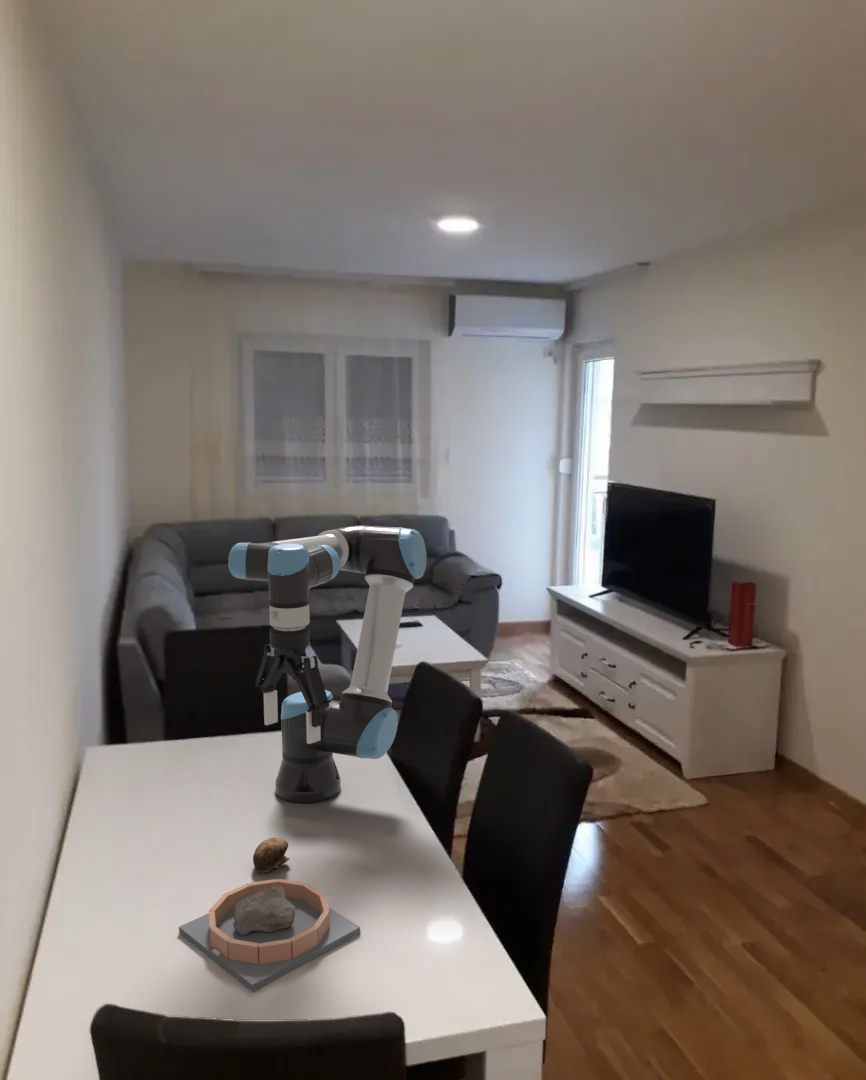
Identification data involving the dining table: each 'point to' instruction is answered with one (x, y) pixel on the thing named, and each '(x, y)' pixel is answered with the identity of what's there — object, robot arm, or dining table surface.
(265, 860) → the mushroom
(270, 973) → the socket
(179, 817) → the dining table surface
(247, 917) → the stone
